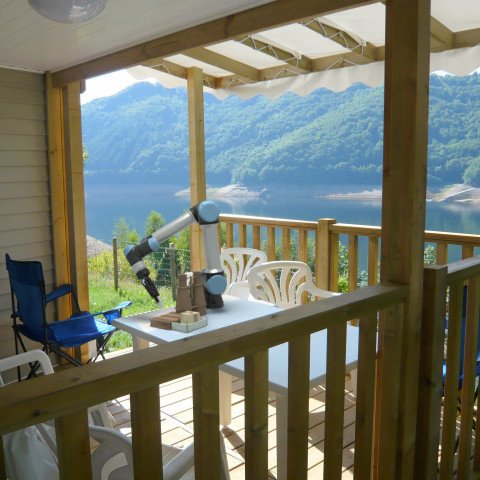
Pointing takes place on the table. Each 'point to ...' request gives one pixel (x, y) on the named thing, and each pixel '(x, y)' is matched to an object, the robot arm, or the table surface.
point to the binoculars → (191, 294)
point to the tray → (189, 325)
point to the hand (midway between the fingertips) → (162, 307)
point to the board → (165, 320)
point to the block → (189, 317)
